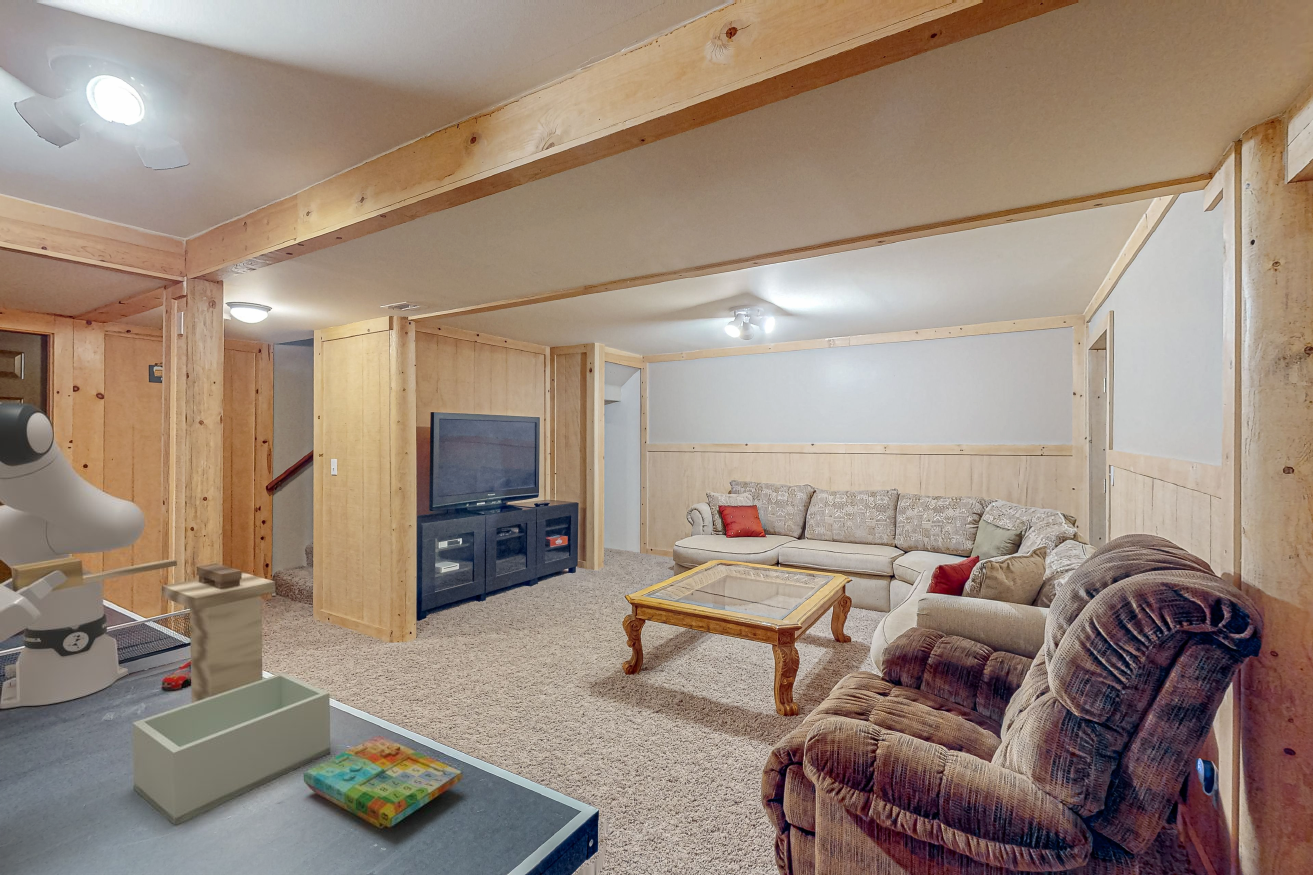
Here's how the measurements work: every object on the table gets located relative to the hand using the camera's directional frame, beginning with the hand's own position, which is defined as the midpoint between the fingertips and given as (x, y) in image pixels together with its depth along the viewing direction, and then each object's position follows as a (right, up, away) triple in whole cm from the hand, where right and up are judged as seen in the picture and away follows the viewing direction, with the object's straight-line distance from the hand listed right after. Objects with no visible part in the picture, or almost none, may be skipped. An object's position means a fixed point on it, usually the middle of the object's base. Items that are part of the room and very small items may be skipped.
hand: (56, 571), depth 81 cm
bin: (+17, -34, +12) cm, 40 cm away
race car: (-16, -34, +45) cm, 59 cm away
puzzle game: (+43, -35, +5) cm, 55 cm away
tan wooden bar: (+3, -2, +4) cm, 5 cm away
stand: (+5, -34, +24) cm, 42 cm away
